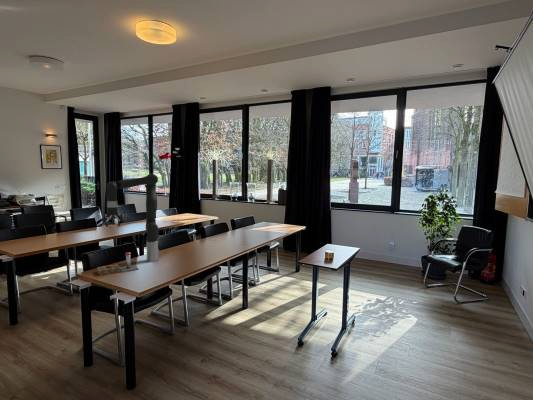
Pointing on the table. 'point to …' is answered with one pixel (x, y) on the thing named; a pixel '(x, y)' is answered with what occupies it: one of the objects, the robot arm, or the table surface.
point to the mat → (124, 269)
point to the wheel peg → (128, 260)
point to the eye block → (108, 269)
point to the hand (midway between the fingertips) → (112, 226)
